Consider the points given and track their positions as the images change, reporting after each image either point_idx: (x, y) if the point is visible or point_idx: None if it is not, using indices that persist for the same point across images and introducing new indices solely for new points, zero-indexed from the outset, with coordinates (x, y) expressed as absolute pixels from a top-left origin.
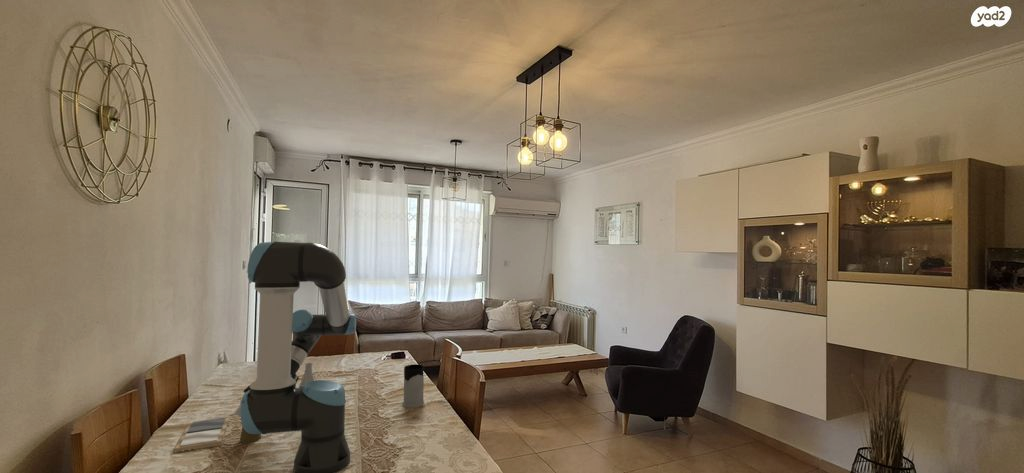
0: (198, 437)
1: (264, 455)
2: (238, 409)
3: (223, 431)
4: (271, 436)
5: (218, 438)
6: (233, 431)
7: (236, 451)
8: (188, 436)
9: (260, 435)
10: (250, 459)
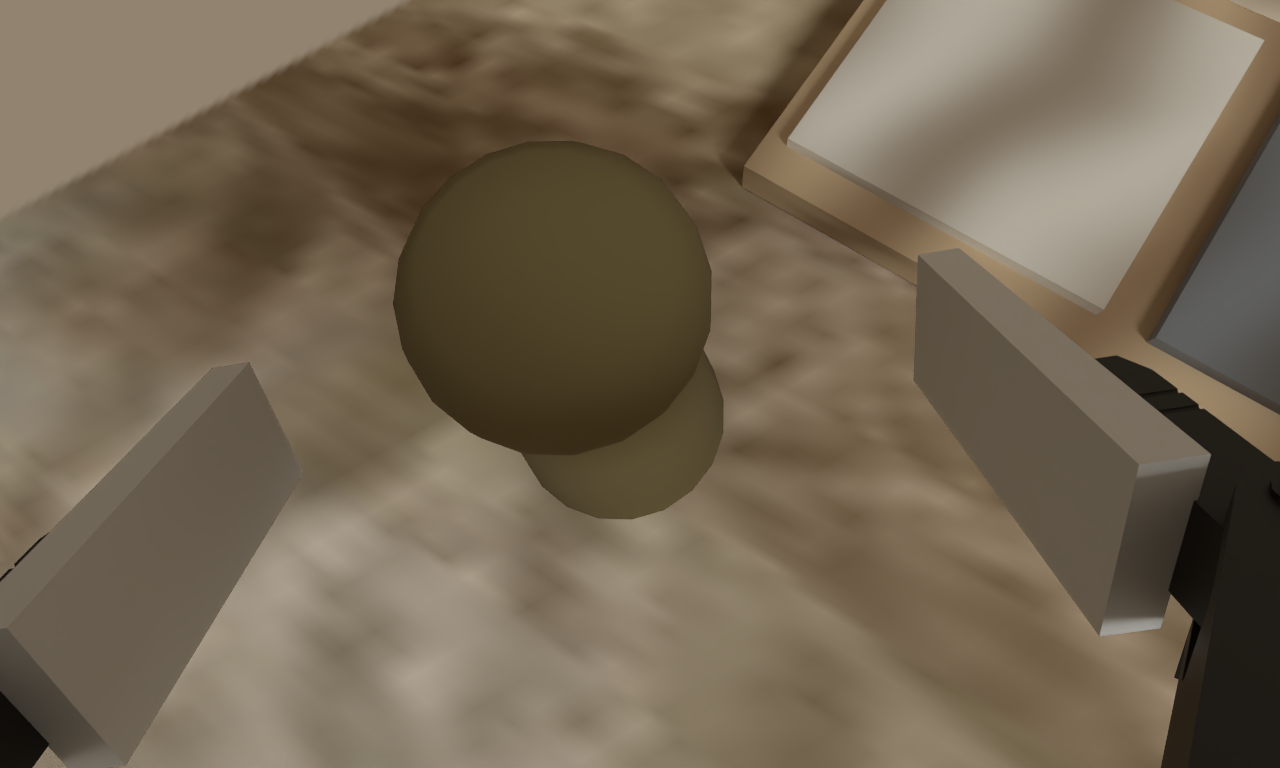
0: (1030, 67)
1: (171, 285)
2: (947, 281)
3: None
4: (486, 584)
5: (846, 183)
6: None
7: None
8: (1152, 24)
9: (540, 481)
10: (221, 184)
